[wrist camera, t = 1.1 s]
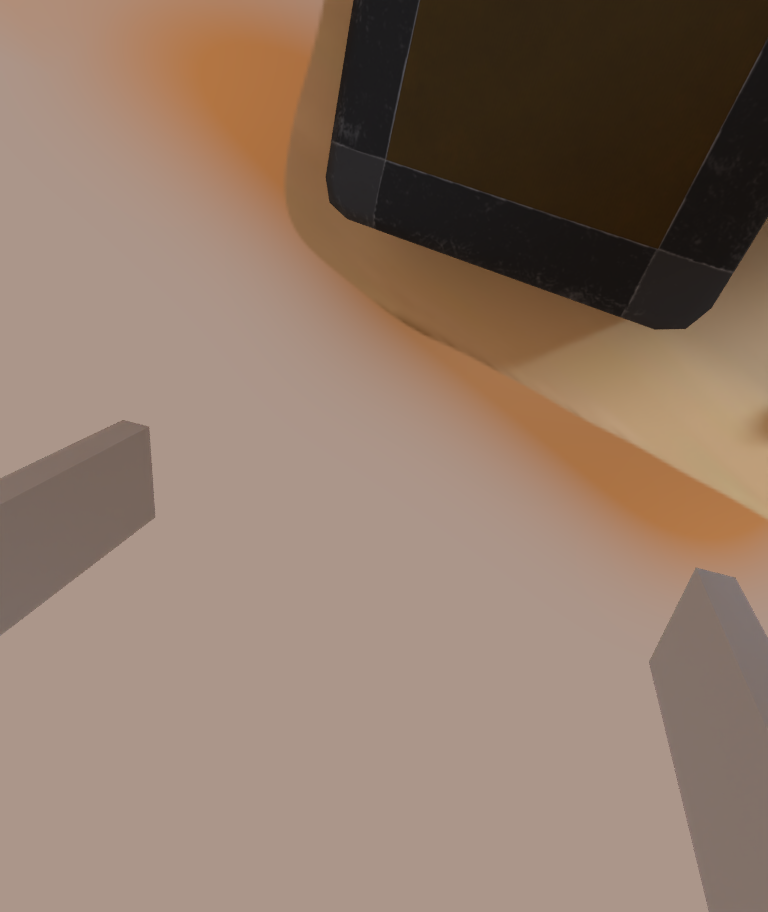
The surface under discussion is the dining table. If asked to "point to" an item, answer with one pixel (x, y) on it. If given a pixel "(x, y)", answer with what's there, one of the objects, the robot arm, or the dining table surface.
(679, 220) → the cash box
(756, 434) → the dining table surface
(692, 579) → the robot arm
